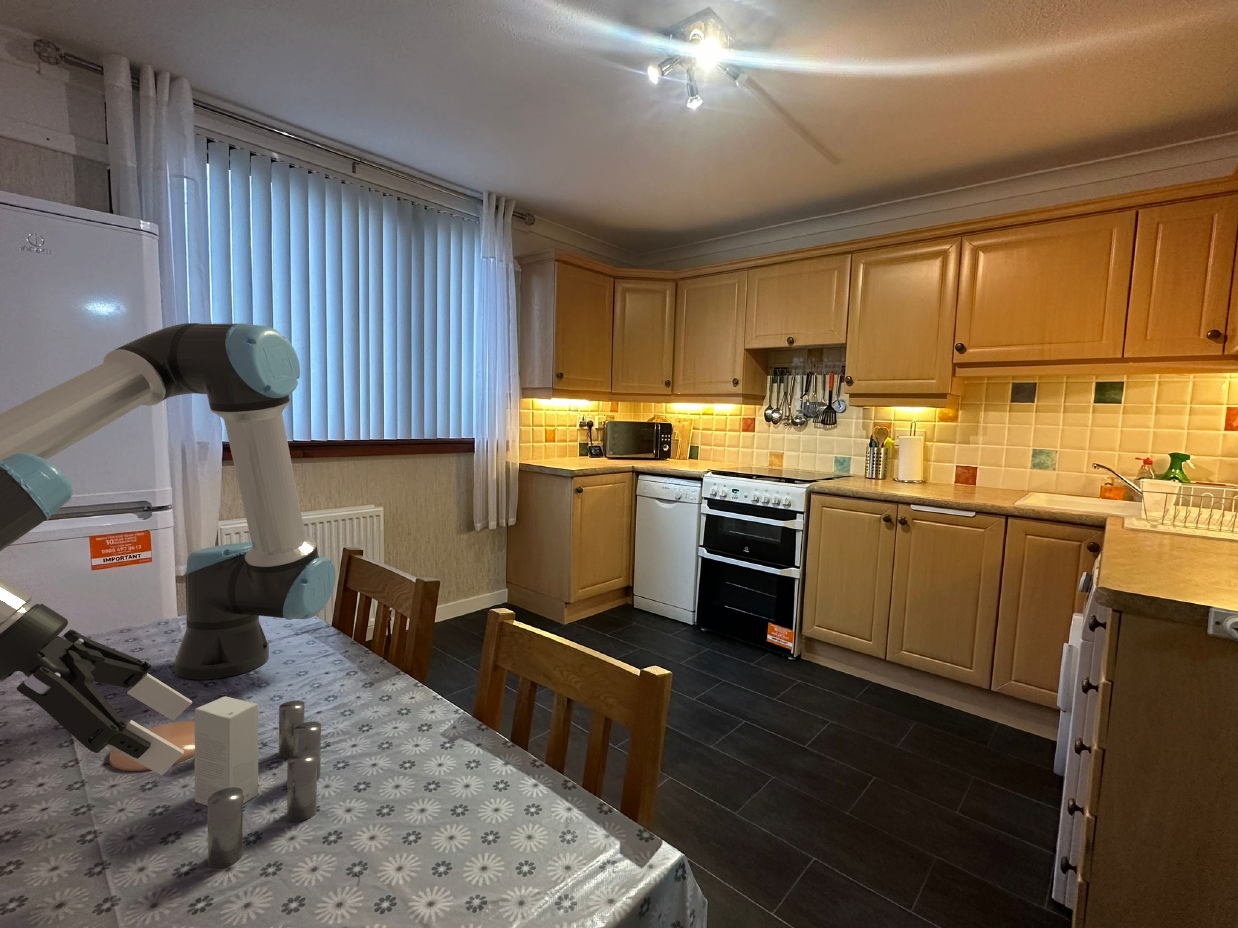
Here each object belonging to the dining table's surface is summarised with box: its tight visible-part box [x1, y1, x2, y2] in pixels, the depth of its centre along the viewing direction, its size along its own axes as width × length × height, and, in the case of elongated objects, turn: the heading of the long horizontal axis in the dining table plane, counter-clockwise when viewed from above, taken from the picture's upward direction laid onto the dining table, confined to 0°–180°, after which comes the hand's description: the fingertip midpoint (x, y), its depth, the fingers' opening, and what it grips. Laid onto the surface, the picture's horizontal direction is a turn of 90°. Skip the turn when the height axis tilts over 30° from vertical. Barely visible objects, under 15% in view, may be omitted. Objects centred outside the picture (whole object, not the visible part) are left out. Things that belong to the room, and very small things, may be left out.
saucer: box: [109, 720, 195, 772], centre depth 86 cm, size 12×12×1 cm
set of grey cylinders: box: [207, 700, 322, 870], centre depth 76 cm, size 21×24×7 cm
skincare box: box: [194, 695, 259, 807], centre depth 75 cm, size 6×4×12 cm
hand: (178, 734), depth 71 cm, fingers open, 13 cm apart
